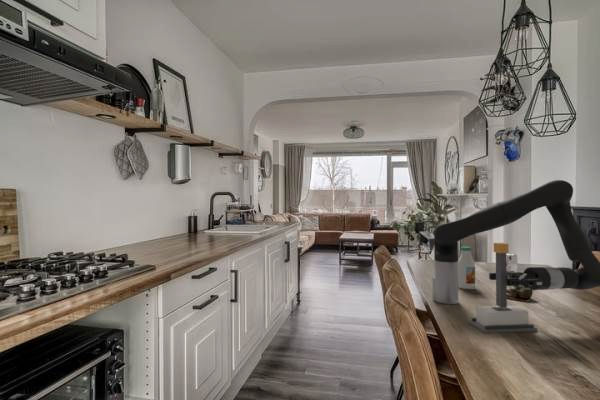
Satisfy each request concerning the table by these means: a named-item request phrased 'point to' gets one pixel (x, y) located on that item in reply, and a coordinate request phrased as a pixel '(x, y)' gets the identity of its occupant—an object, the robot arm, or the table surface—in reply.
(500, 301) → the lever
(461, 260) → the milk bottle
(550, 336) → the table surface
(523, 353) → the table surface
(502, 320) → the breaker base
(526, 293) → the skull
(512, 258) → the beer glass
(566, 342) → the table surface
